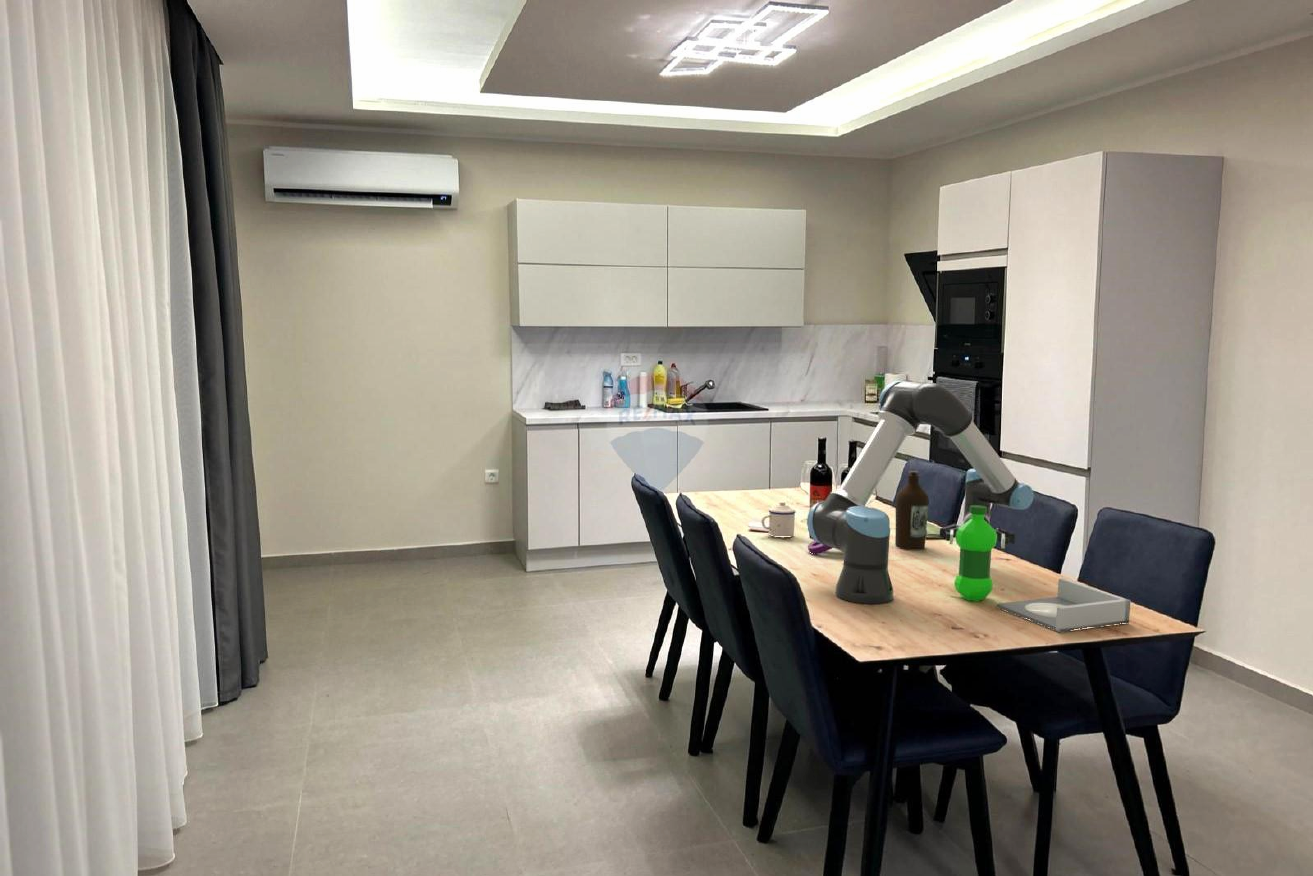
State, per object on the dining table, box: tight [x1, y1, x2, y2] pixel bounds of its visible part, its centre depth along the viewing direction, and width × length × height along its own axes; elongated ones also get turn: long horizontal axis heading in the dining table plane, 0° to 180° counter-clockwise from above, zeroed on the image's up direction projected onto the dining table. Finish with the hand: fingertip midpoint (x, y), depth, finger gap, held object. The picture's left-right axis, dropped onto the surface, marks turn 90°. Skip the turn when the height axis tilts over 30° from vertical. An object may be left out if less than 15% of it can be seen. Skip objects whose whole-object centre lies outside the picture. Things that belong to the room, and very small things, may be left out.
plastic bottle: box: [953, 505, 998, 602], centre depth 260 cm, size 10×10×25 cm
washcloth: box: [926, 522, 942, 539], centre depth 341 cm, size 13×18×3 cm
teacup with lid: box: [760, 501, 796, 537], centre depth 333 cm, size 12×9×12 cm
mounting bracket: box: [807, 539, 833, 555], centre depth 310 cm, size 9×8×18 cm
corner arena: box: [995, 577, 1132, 633], centre depth 247 cm, size 22×22×6 cm
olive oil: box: [894, 470, 930, 550], centre depth 319 cm, size 11×11×25 cm
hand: (977, 541), depth 267 cm, fingers open, 13 cm apart
